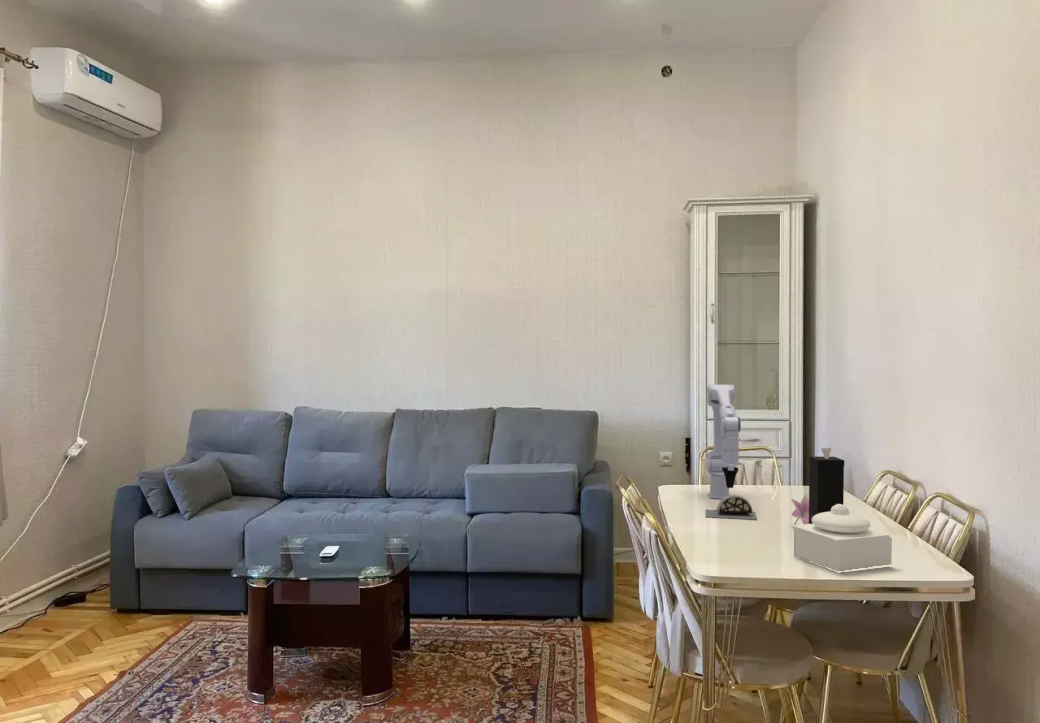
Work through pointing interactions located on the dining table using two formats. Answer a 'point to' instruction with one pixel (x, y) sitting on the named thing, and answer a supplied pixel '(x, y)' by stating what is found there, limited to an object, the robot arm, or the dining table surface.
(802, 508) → the lily
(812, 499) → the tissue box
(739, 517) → the mat
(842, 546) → the butter dish
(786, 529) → the dining table surface
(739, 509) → the food container
